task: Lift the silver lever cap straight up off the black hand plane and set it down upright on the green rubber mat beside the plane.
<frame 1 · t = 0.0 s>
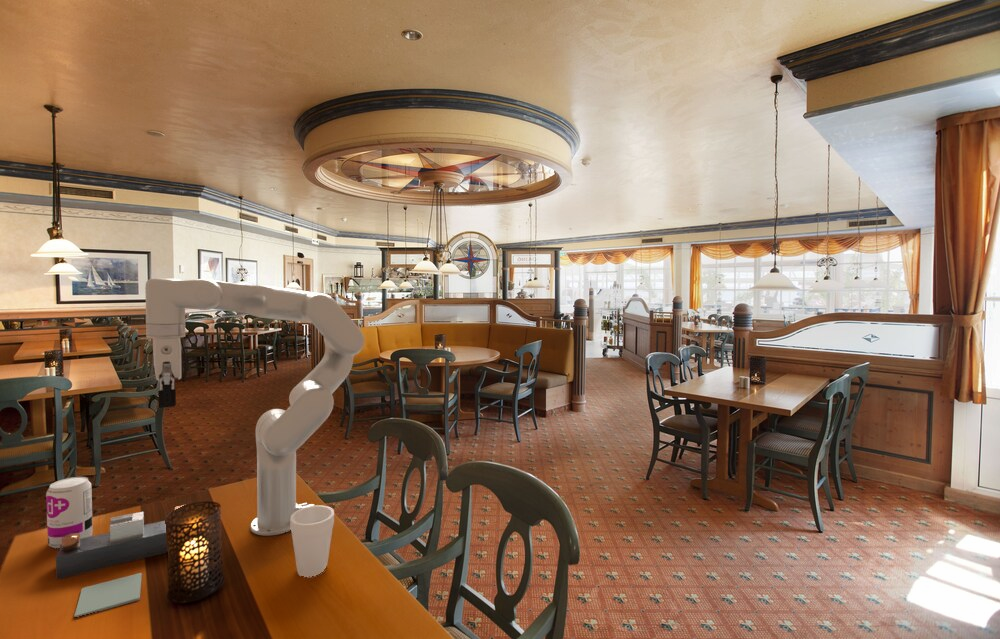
hand: (167, 402, 111), 37 cm above the table, tool pointing down, fingers open, 9 cm apart
hand plane: (128, 555, 111), on the table
supplement can: (70, 541, 116), on the table
lever cap: (127, 534, 111), point 5 cm above the table, touching hand plane
foam cup: (312, 569, 108), on the table
mat: (110, 595, 97), on the table
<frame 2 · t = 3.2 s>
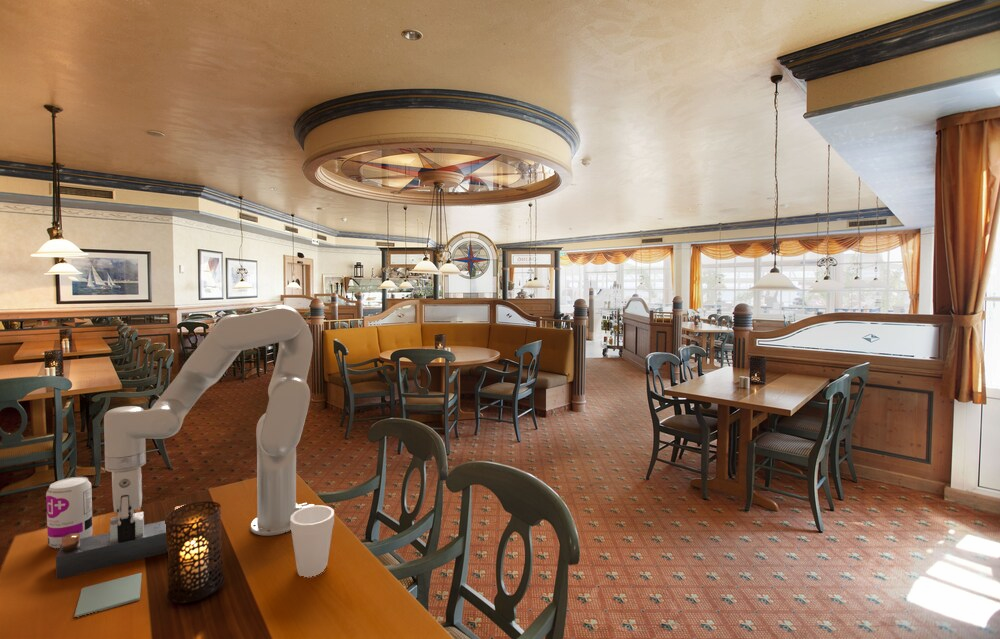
hand: (127, 534, 111), 5 cm above the table, tool pointing down, fingers closed on lever cap, 4 cm apart
lever cap: (127, 534, 111), point 5 cm above the table, touching gripper
everything else where it was.
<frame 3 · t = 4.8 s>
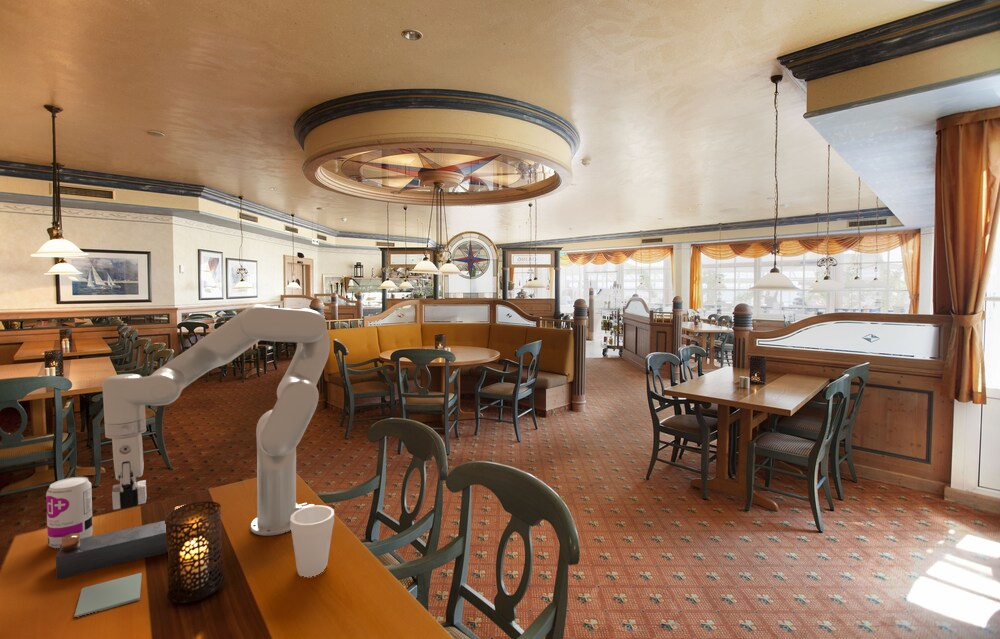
hand: (130, 501, 111), 13 cm above the table, tool pointing down, fingers closed on lever cap, 4 cm apart
lever cap: (130, 502, 111), point 13 cm above the table, touching gripper
everything else where it was.
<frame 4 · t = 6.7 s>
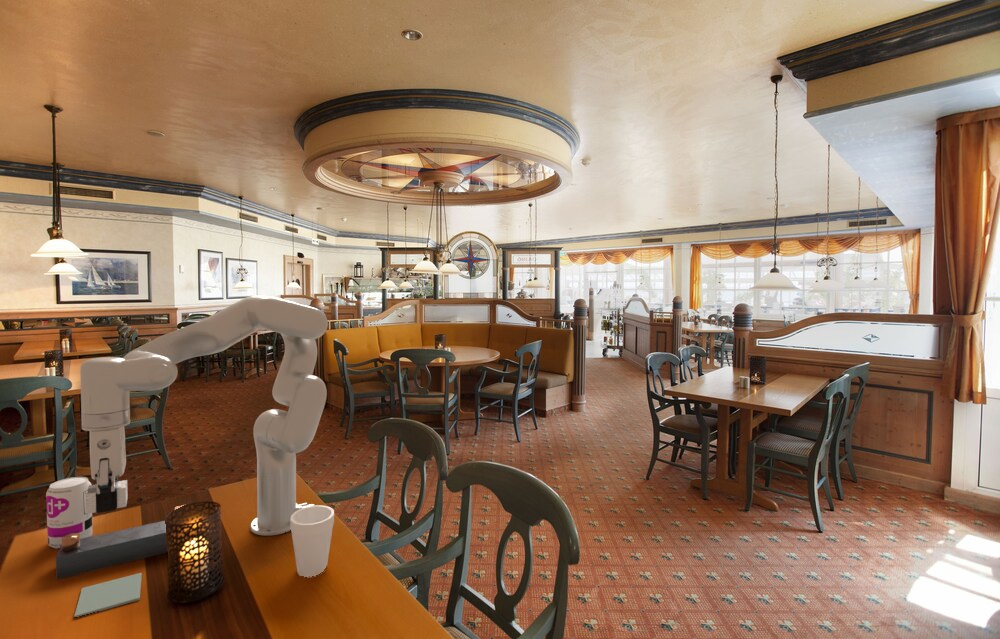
hand: (108, 504, 96), 19 cm above the table, tool pointing down, fingers closed on lever cap, 4 cm apart
lever cap: (108, 505, 96), point 19 cm above the table, touching gripper
everything else where it was.
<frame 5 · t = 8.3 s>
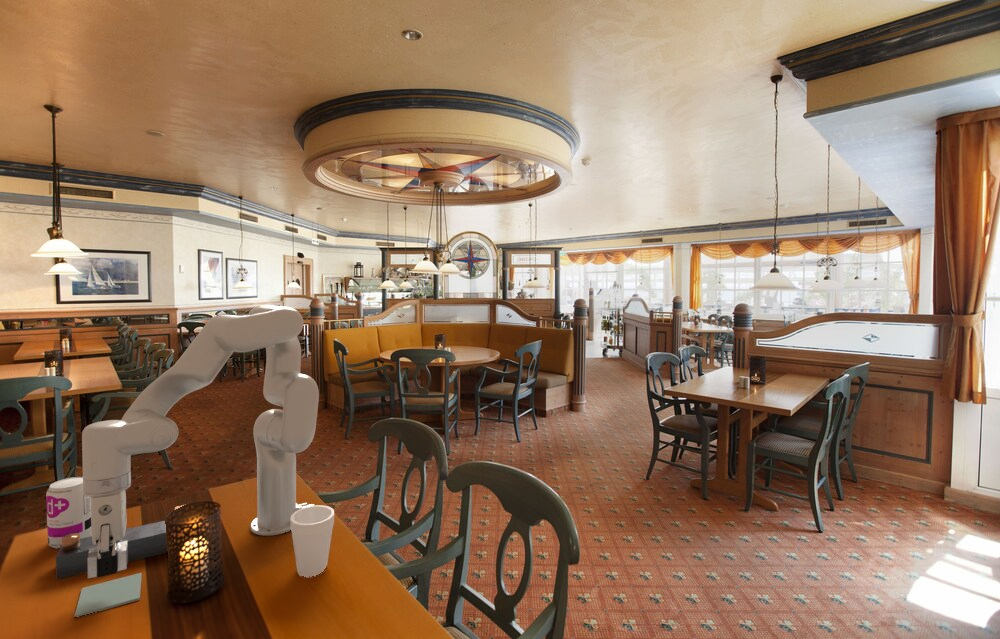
hand: (108, 567, 96), 6 cm above the table, tool pointing down, fingers closed on lever cap, 4 cm apart
lever cap: (108, 568, 96), point 6 cm above the table, touching gripper
everything else where it was.
when the fingers open (2 cm above the table, at t = 9.8 s): lever cap drops 1 cm, resting on mat.
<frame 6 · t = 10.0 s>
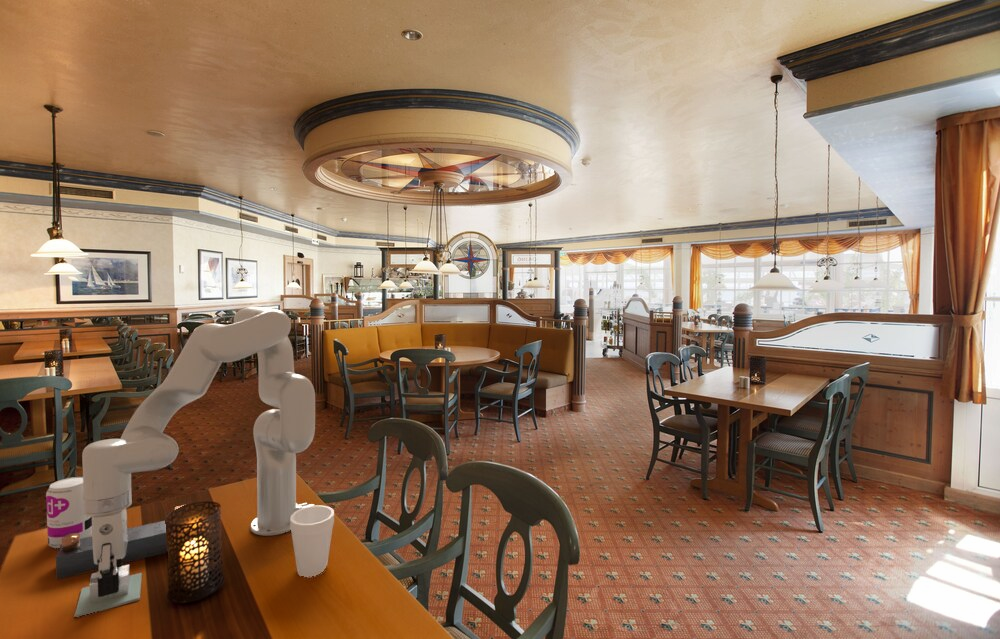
hand: (110, 583, 97), 2 cm above the table, tool pointing down, fingers open, 6 cm apart
lever cap: (110, 592, 97), resting on mat
everything else where it was.
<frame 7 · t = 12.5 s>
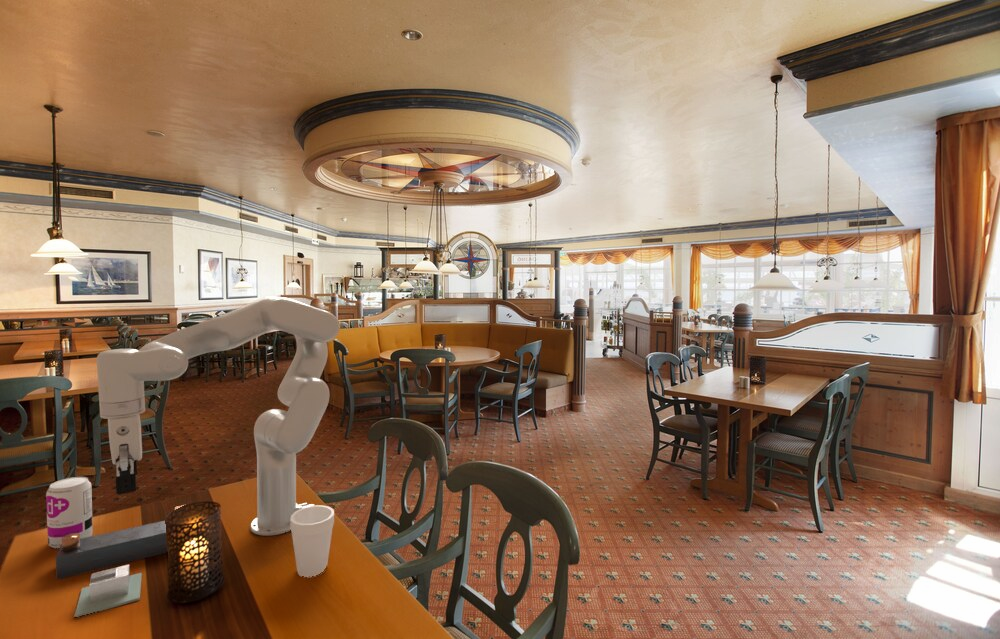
hand: (127, 484, 101), 21 cm above the table, tool pointing down, fingers open, 9 cm apart
nothing on the table moved.
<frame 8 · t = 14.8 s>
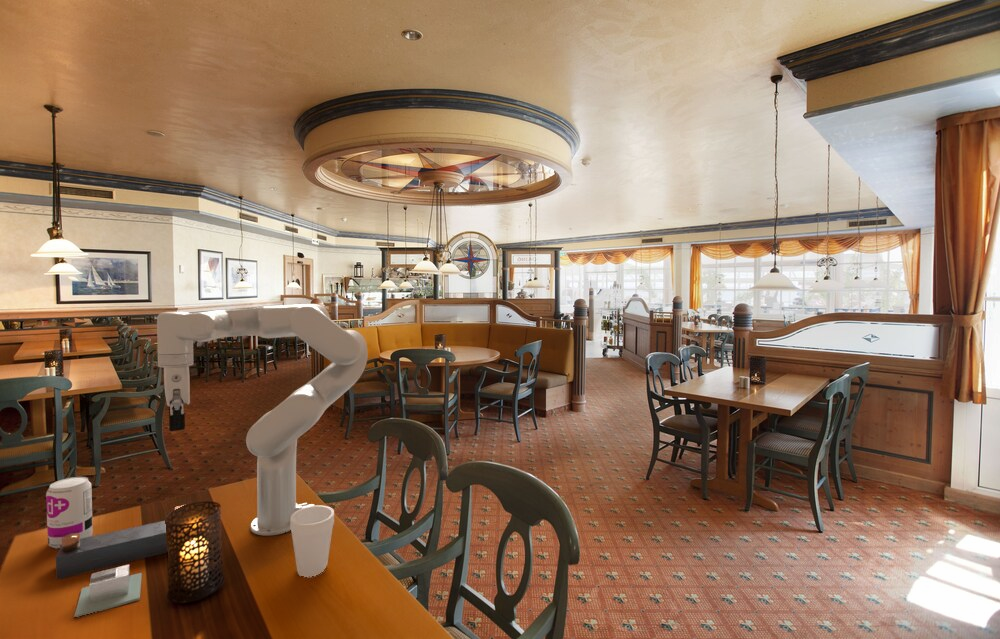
hand: (176, 425, 121), 28 cm above the table, tool pointing down, fingers open, 9 cm apart
nothing on the table moved.
at the end: lever cap inside the target area on the mat (0.0 cm from its centre), point 0.5 cm above the mat's base; lever cap tilted 0°; the gripper is holding nothing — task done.
